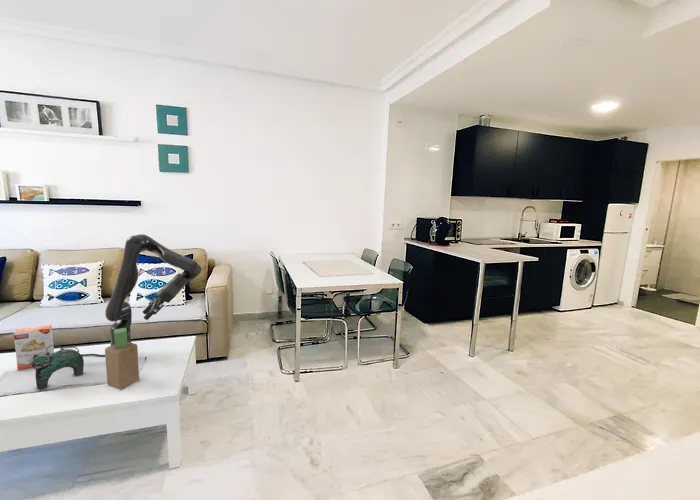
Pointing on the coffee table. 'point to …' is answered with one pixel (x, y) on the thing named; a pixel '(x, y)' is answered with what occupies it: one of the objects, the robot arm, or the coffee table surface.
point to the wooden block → (122, 365)
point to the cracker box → (32, 344)
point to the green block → (120, 338)
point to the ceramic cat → (55, 364)
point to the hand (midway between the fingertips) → (144, 316)
